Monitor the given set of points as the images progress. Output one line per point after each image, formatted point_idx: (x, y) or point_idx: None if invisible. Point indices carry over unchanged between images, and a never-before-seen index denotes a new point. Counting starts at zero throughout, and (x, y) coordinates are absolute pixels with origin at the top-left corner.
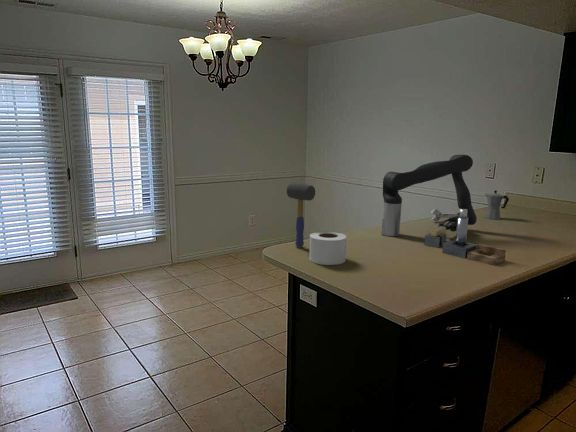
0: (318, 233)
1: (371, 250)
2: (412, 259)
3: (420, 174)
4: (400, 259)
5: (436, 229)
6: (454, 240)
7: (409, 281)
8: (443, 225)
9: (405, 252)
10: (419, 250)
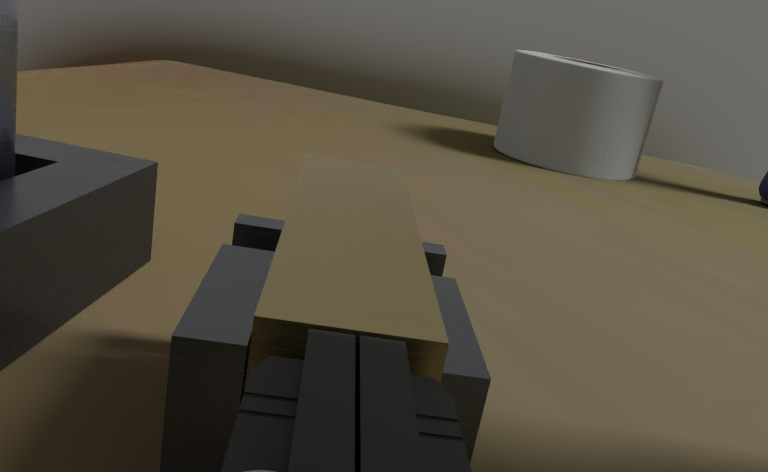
0: (636, 72)
1: (574, 220)
2: None
3: None
4: None
5: (356, 188)
6: (14, 215)
7: (217, 102)
8: (412, 403)
9: None
10: None
